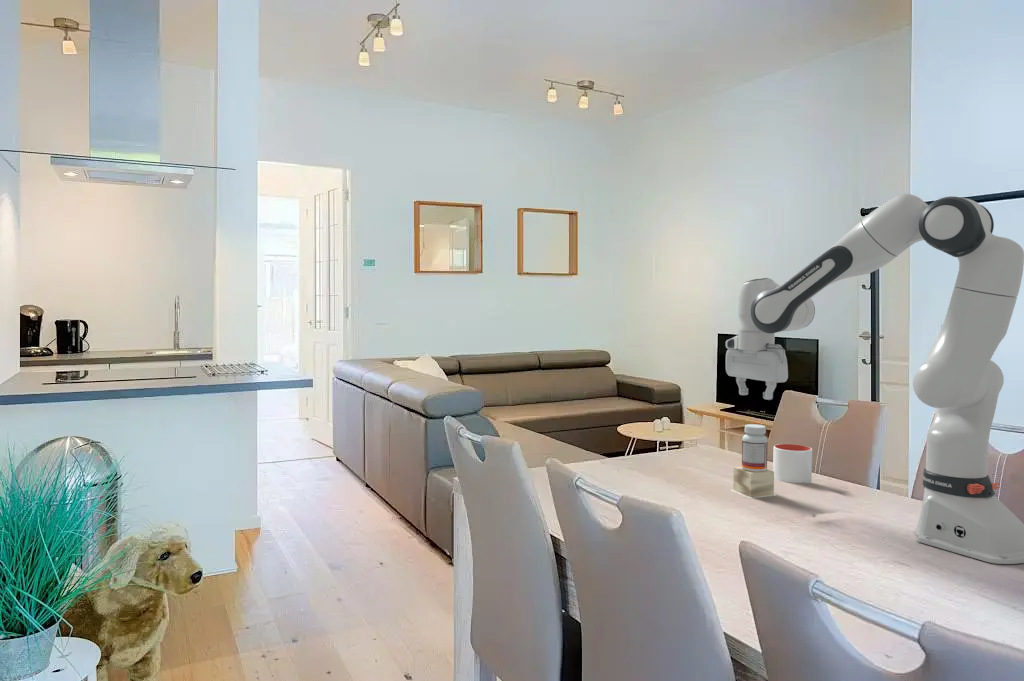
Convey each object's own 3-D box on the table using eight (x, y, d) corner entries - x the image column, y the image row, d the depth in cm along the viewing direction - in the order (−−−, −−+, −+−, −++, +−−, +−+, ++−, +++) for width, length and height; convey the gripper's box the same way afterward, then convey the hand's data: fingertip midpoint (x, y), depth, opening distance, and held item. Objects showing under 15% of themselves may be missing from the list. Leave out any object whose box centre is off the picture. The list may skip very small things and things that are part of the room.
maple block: (773, 494, 180) (774, 471, 180) (750, 497, 178) (751, 473, 178) (755, 488, 187) (756, 465, 186) (733, 490, 184) (733, 467, 184)
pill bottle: (750, 465, 186) (751, 422, 186) (771, 470, 181) (772, 426, 181) (736, 469, 182) (737, 425, 182) (758, 473, 178) (759, 428, 177)
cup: (817, 487, 192) (818, 451, 192) (780, 487, 193) (781, 451, 192) (803, 478, 202) (803, 443, 202) (767, 478, 203) (768, 443, 202)
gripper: (795, 344, 172) (794, 401, 172) (741, 340, 191) (740, 392, 191) (773, 345, 169) (772, 402, 170) (721, 341, 189) (720, 393, 189)
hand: (755, 397), depth 181 cm, fingers open, 8 cm apart
